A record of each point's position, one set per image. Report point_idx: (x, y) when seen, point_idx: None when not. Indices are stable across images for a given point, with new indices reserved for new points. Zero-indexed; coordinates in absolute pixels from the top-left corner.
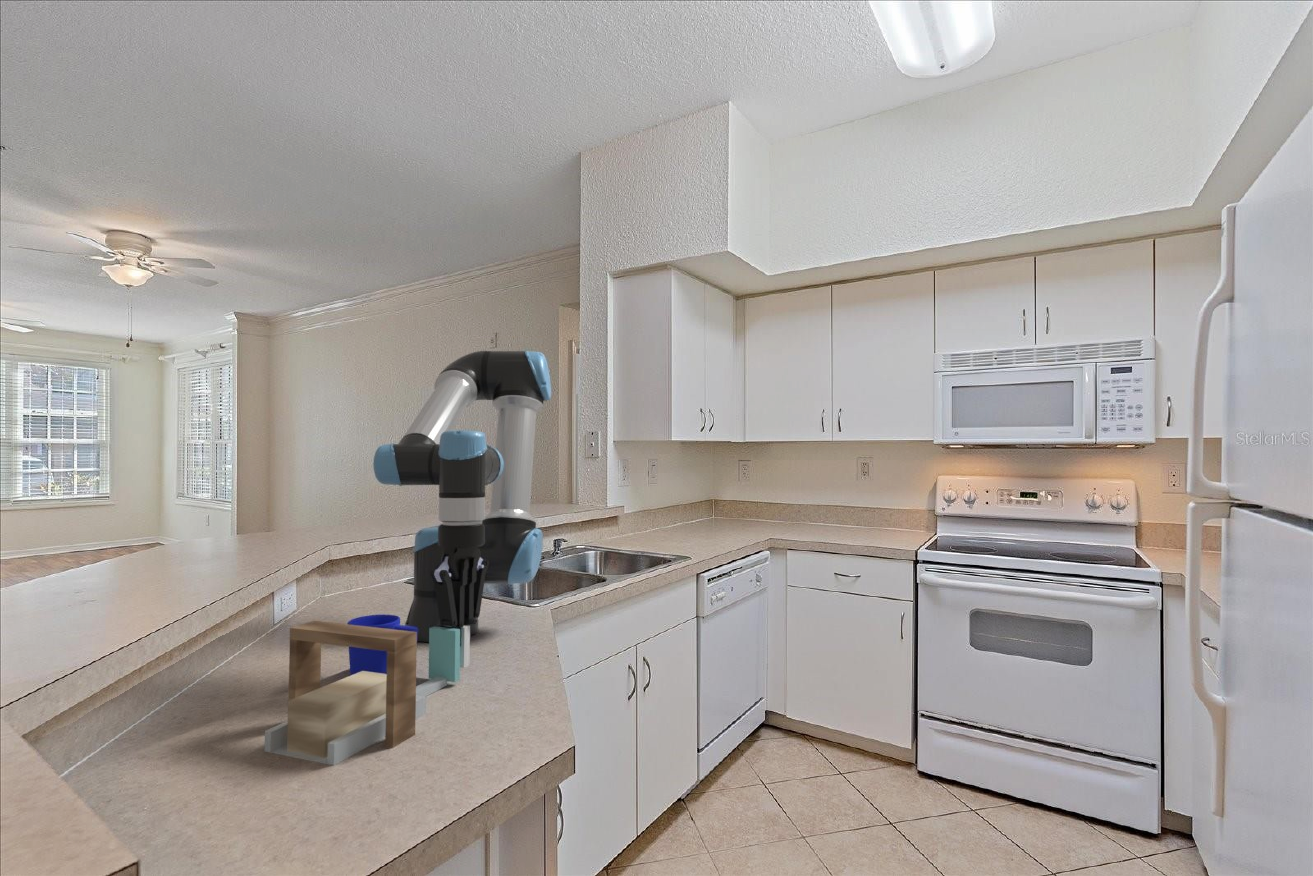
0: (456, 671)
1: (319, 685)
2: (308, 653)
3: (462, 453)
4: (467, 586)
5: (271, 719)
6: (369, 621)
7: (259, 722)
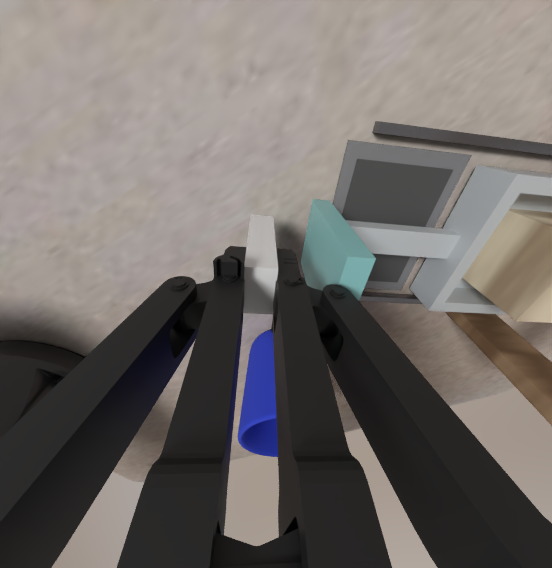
0: (328, 207)
1: (495, 346)
2: None
3: None
4: (227, 442)
5: (415, 354)
6: (261, 440)
7: (422, 358)
